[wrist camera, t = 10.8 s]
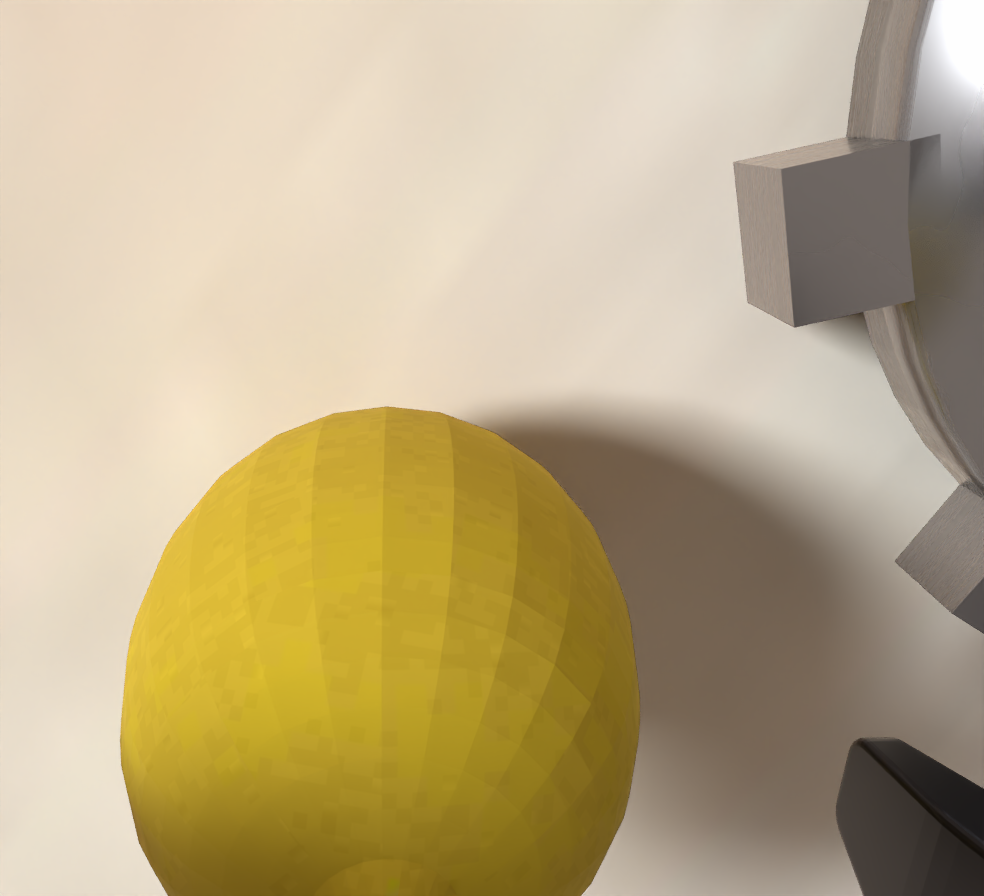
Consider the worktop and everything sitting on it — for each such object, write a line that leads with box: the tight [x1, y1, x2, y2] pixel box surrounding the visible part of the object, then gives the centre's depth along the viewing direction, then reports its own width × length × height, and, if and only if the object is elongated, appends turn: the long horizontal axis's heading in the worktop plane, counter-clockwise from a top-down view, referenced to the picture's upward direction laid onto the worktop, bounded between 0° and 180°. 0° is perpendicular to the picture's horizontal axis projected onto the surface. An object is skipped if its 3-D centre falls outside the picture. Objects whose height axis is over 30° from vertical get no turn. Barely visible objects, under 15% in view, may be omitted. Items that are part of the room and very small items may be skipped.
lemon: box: [120, 407, 640, 896], centre depth 10 cm, size 6×6×8 cm
